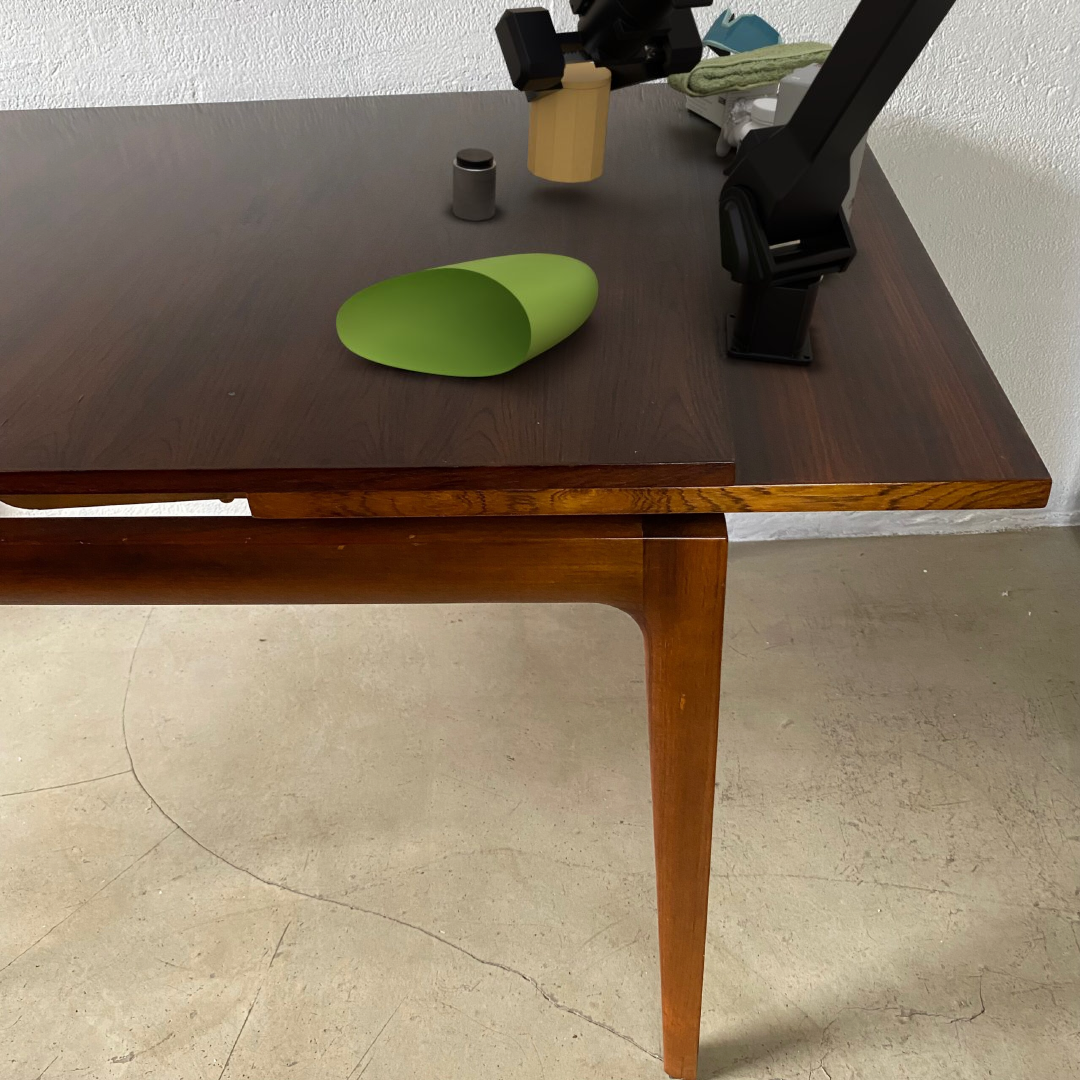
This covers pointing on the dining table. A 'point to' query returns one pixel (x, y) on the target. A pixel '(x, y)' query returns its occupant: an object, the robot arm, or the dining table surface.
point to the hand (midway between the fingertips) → (563, 93)
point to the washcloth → (748, 69)
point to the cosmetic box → (786, 105)
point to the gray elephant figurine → (735, 124)
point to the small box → (726, 102)
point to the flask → (474, 184)
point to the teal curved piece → (739, 34)
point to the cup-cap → (571, 126)
